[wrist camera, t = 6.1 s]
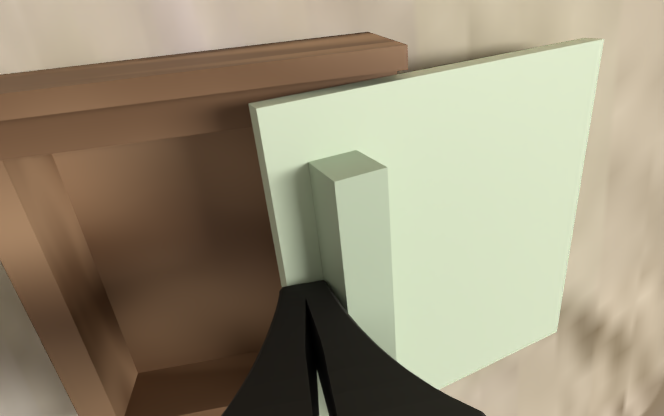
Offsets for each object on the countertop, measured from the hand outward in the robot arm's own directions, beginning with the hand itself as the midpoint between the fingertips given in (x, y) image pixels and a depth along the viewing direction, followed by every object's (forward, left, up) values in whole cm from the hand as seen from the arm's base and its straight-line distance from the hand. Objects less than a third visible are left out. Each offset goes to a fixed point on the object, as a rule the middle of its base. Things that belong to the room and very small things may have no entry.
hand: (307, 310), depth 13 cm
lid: (0, -5, -2) cm, 5 cm away
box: (0, +3, -5) cm, 6 cm away
